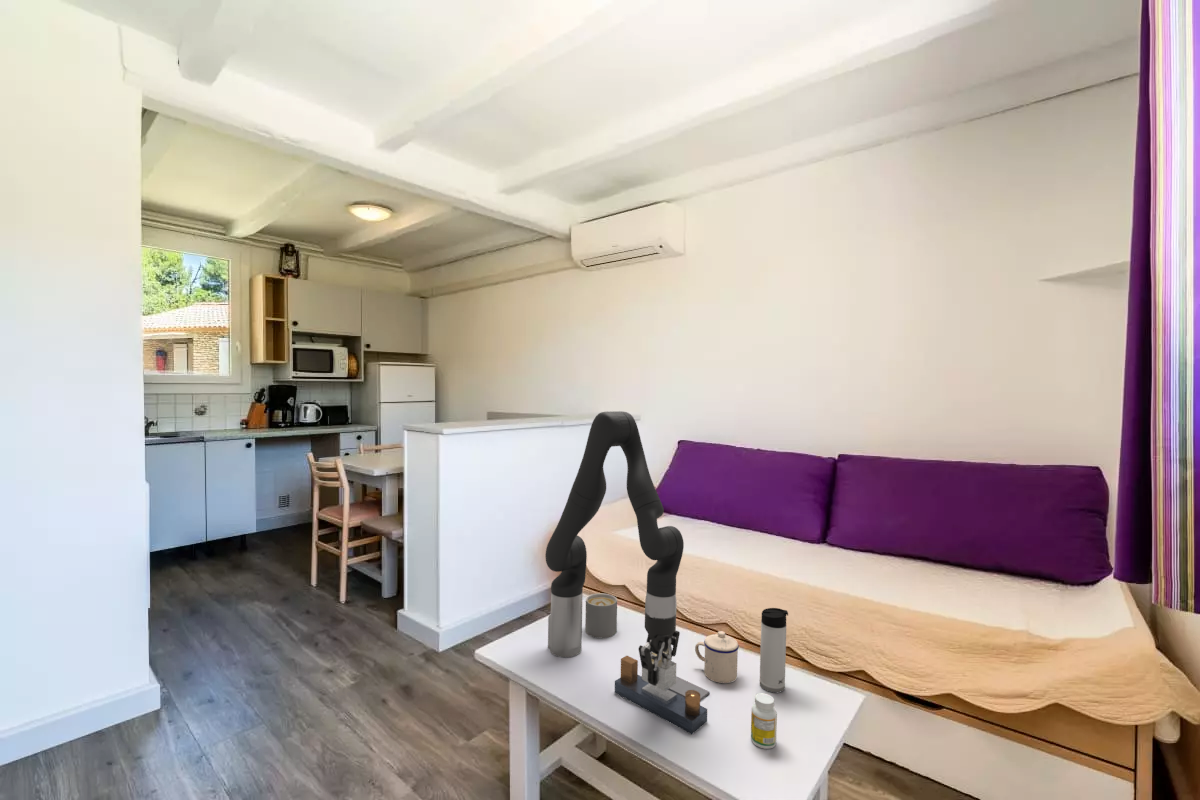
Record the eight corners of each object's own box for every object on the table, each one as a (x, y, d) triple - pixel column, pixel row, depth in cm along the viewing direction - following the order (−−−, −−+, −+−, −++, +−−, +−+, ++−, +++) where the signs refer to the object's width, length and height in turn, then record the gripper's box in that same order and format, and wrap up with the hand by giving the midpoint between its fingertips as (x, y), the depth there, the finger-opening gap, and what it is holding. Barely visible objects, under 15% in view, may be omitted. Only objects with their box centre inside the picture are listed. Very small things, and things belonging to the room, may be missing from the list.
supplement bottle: (770, 753, 112) (771, 708, 112) (746, 742, 115) (747, 698, 115) (780, 740, 116) (781, 697, 116) (756, 730, 119) (757, 688, 119)
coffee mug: (601, 641, 160) (601, 608, 160) (578, 630, 167) (579, 599, 167) (630, 627, 170) (630, 596, 169) (607, 617, 176) (608, 588, 176)
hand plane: (614, 692, 133) (615, 661, 133) (630, 682, 138) (631, 652, 138) (691, 734, 117) (692, 699, 117) (707, 721, 122) (707, 687, 122)
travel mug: (787, 694, 134) (789, 616, 133) (760, 691, 135) (762, 614, 134) (784, 681, 140) (786, 606, 139) (758, 678, 141) (760, 604, 140)
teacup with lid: (742, 673, 143) (743, 630, 143) (730, 688, 136) (731, 643, 136) (701, 659, 150) (702, 619, 150) (688, 673, 143) (688, 630, 143)
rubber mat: (657, 684, 137) (657, 682, 137) (670, 675, 141) (670, 673, 141) (696, 704, 129) (696, 701, 129) (709, 693, 133) (709, 691, 133)
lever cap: (641, 679, 128) (642, 655, 128) (652, 672, 132) (653, 649, 131) (665, 691, 124) (665, 666, 123) (675, 683, 127) (676, 660, 127)
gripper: (665, 597, 135) (663, 662, 135) (629, 614, 124) (627, 685, 125) (690, 606, 130) (688, 674, 130) (655, 624, 119) (653, 698, 120)
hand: (658, 679), depth 128 cm, fingers closed on lever cap, 4 cm apart
